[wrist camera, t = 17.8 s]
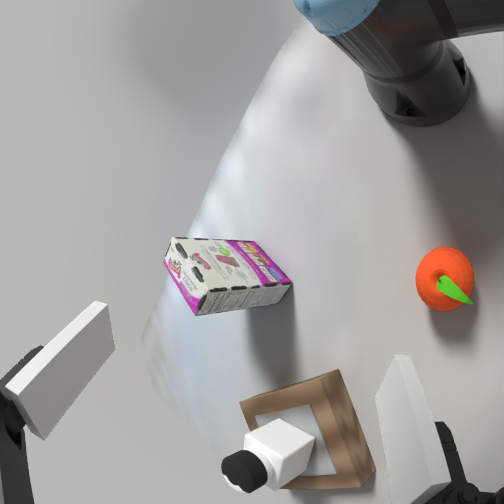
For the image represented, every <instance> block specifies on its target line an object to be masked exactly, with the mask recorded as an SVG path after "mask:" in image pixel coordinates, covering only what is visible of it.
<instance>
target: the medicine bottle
mask: <svg viewBox="0 0 504 504" xmlns="http://www.w3.org/2000/svg"><path fill="white" fill-rule="evenodd" d="M314 441H315V437H314V436H312V435H310V434H308V433H306V432H304V431H302V430H300V429H298V428H296V427H294V426H293V425H291V424H289V423H287V422H285V421H283V420H282V419H280V418H278V419H276V420H274V421H272V422H270V423H268V424H266V425H264V426H262V427H260V428H257V429H255V430H253V431H251V432H249V433H247V434H246V435H245V441H244V448H243V450H240V451H238V452H236V453H234V454H232V455H230V456H227V457H225V458H224V459H223V461H222V466H221V468H222V473H223V476H224V478H225V480H226V481H227V482H228V484H229V485H230V486H231V487H232V488H233V489H234V490H236V491H238V492H240V493H244V494H249V493H251V492H253V491H254V490H256V489H258V488H260V487H261V486H263V485H265V484H266V485H267V486H268V487H270V488H271V489H273V490H278V489H279V488H281V487H282V486H284V485H285V484H287V483H288V482H290V481H291V480H292V479H294V478H295V477H297V476H298V475H300V474H301V473H302V472H304V471H305V470H306V468H307V465H308V462H309V459H310V455H311V452H312V448H313V445H314Z"/></svg>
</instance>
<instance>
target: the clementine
mask: <svg viewBox="0 0 504 504" xmlns="http://www.w3.org/2000/svg"><path fill="white" fill-rule="evenodd" d="M473 284H474V272H473V268H472V265H471V263H470V261H469V259H468V258H467V257H466V256H465V255H464V254H463V253H462V252H461V251H459V250H457V249H455V248H452V247H439V248H437V249H434V250H432V251H431V252H429V253H428V254H427V255H426V256H425V257H424V258H423V259H422V261H421V262H420V264H419V266H418V269H417V273H416V287H417V291H418V294H419V295H420V297H421V299H422V300H423V301H424V302H425V304H426V305H427V306H429V307H431V308H433V309H435V310H439V311H450V310H453V309H456V308H458V307H459V306H461V305H462V304H463V303H467V304H474V303H473V302H472V301H471V300H470V299H469V298H468V297H469V296H470V293H471V291H472V289H473Z"/></svg>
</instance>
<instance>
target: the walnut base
mask: <svg viewBox="0 0 504 504" xmlns="http://www.w3.org/2000/svg"><path fill="white" fill-rule="evenodd" d="M239 403H240V406H241V409H242V411H243V414H244V417H245V419H246V422H247V424H248V427H249V430H250V432H251V431H253V430H255V429H257V428H260V427H262V426H264V425H266V424H268V423H270V422H272V421H274V420H276V419H278V418H280V419H282V420H283V421H285V422H287V423H289V424H291V425H293V426H294V427H296V428H298V429H300V430H302V431H304V432H306V433H308V434H310V435H312V436H314V437H315V441H314V445H313V448H312V452H311V455H310V459H309V462H308V465H307V468H306V470H305V471H304V472H302V473H301V474H300V475H298V476H297V477H295V478H294V479H292V480H291V481H290V482H288V483H287V484H285V485H284V486H282V487H281V488H279V489H339V488H354V487H361V486H362V485H363V484H364V483H365V482H366V480H367V479H368V478H369V477H370V476H371V475H372V474H373V473H374V471H375V470H376V468H375V465H374V462H373V459H372V456H371V454H370V451H369V448H368V445H367V442H366V440H365V437H364V434H363V431H362V429H361V426H360V423H359V421H358V418H357V415H356V413H355V410H354V407H353V405H352V402H351V399H350V397H349V394H348V392H347V389H346V386H345V384H344V381H343V379H342V376H341V374H340V371H339V369H337V370H334V371H331V372H329V373H326V374H323V375H320V376H317V377H314V378H311V379H308V380H305V381H302V382H299V383H296V384H293V385H290V386H287V387H283V388H280V389H277V390H273V391H270V392H266V393H263V394H259V395H257V396H254V397H252V398H249V399H246V400H244V401H241V402H239Z"/></svg>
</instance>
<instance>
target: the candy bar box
mask: <svg viewBox="0 0 504 504" xmlns="http://www.w3.org/2000/svg"><path fill="white" fill-rule="evenodd" d="M163 263H164V264H165V266H166V268H167V270H168V271H169V273H170V275H171V276H172V278H173V280H174V282H175V283H176V285H177V287H178V288H179V290H180V292H181V293H182V295H183V297H184V298H185V300H186V302H187V303H188V305H189V306H190V308H191V310H192V311H193V313H194V315H195V316H198V315H206V314H213V313H220V312H227V311H234V310H240V309H247V308H253V307H260V306H266V305H271V304H277V303H279V302H280V300H281V299H282V298H283V296H284V294H285V293H286V291H287V290H288V289H289V287H290V286H291V284H292V281H291V280H290V279H289V278H288V277H287V276H286V275H285V274H284V273H283V272H282V271H281V270H280V268H279V267H278V266H277V265H276V264H275V263H274V262H273V261H272V260H271V259H270V258H269V257H268V256H267V254H266V253H265V252H264V251H263V250H262V249H261V248H260V247H259V246H258V245H257V244H256V242H255V241H241V240H225V239H224V240H223V239H202V238H181V237H173V238H172V240H171V243H170V245H169V248H168V250H167V253H166V255H165V257H164V261H163Z"/></svg>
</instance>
